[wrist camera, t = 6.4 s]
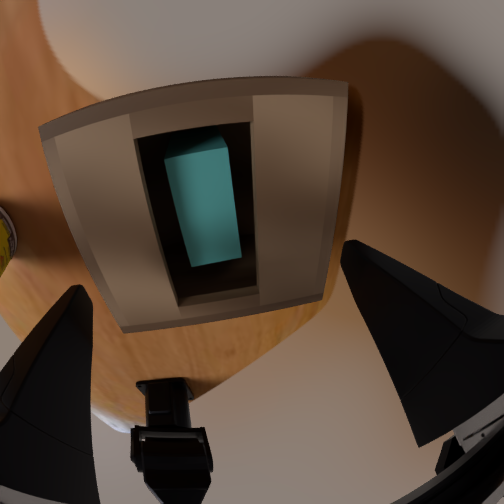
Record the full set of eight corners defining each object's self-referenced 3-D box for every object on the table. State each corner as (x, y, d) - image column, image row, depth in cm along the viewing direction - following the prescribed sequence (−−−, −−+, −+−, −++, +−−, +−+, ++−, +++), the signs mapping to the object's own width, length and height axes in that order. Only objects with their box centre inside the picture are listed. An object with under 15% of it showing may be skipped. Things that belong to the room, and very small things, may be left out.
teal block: (227, 209, 17) (241, 257, 13) (189, 216, 17) (191, 267, 13) (216, 125, 14) (227, 147, 10) (171, 133, 14) (163, 159, 10)
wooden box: (284, 231, 20) (321, 300, 15) (136, 255, 18) (123, 333, 13) (285, 76, 13) (348, 82, 8) (96, 102, 12) (38, 126, 6)
